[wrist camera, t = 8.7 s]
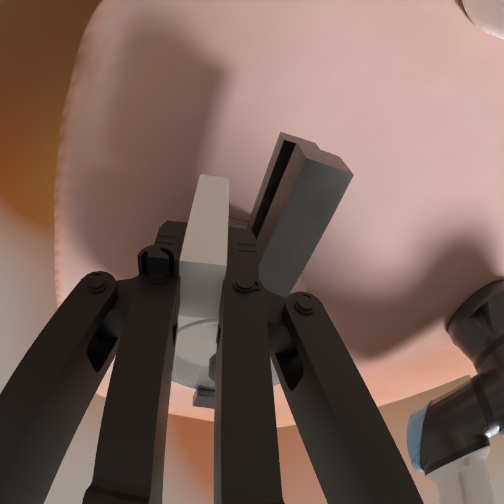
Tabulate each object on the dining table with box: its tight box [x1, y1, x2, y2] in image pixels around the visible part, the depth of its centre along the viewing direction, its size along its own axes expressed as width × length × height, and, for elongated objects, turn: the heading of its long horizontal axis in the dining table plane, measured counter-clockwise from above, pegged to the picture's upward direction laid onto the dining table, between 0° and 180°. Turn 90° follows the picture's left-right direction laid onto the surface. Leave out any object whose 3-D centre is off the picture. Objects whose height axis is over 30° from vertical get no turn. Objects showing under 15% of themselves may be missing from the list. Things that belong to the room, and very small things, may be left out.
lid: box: [171, 142, 353, 409], centre depth 23 cm, size 29×16×3 cm, turn 162°
